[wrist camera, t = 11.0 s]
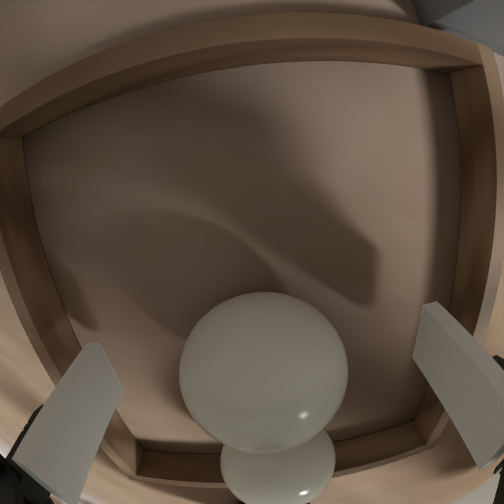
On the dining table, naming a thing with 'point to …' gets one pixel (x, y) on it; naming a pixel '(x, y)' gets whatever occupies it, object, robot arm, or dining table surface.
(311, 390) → the pebble
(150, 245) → the dining table surface
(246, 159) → the dining table surface
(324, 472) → the pebble
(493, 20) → the grey shallow box
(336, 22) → the tray
